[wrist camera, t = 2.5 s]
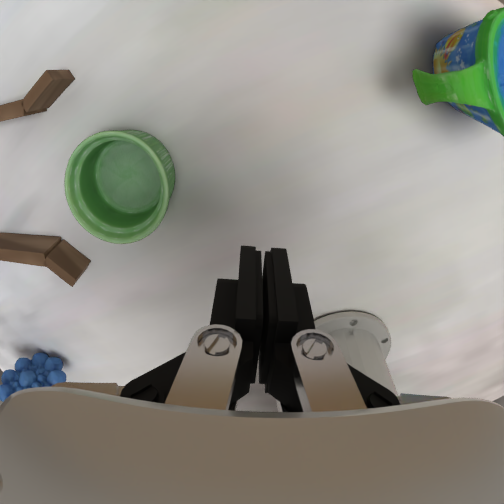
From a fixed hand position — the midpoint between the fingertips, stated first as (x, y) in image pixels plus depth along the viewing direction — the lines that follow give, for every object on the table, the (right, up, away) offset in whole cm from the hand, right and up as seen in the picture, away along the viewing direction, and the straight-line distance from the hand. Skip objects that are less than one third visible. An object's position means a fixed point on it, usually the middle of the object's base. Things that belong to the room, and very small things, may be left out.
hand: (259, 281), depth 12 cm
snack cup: (+18, +17, +7) cm, 26 cm away
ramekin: (-11, +8, +13) cm, 19 cm away
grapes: (-32, -15, +26) cm, 44 cm away
